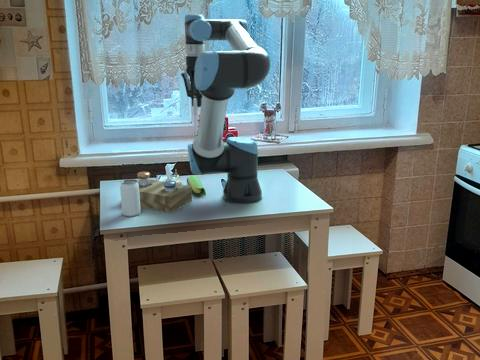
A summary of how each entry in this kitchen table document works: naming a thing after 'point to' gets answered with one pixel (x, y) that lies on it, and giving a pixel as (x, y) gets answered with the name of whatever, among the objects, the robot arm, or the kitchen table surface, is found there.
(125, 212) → the can
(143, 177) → the copper lidded jar
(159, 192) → the oak block
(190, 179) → the edible corn
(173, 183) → the salt shaker
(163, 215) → the kitchen table surface
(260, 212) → the kitchen table surface
